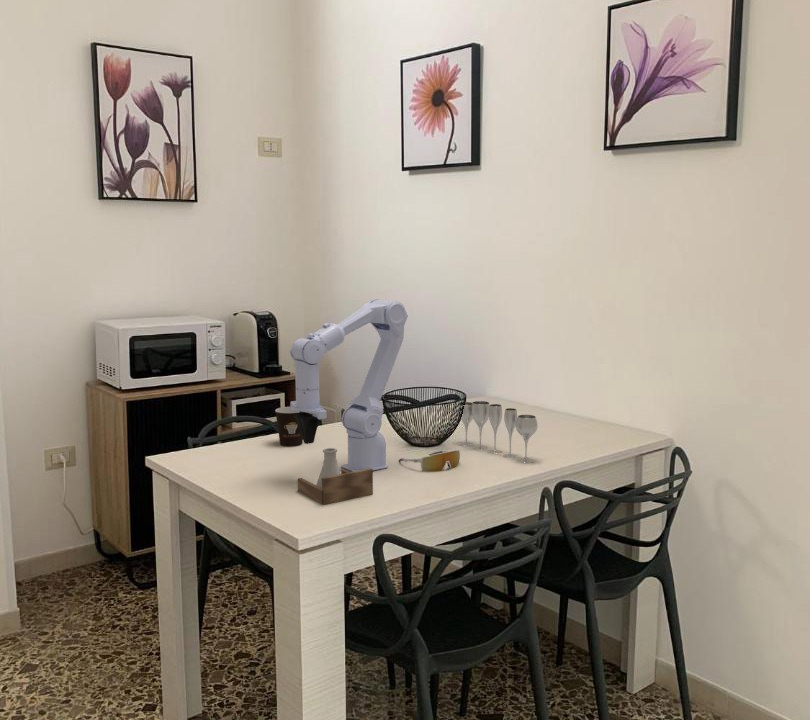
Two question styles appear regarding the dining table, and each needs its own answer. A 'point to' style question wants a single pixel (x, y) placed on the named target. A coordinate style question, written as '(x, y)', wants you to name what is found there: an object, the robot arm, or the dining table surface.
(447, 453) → the sunglasses
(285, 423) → the coffee mug
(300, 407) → the robot arm
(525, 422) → the goblet set
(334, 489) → the shelf bay
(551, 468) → the dining table surface
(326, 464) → the flask
